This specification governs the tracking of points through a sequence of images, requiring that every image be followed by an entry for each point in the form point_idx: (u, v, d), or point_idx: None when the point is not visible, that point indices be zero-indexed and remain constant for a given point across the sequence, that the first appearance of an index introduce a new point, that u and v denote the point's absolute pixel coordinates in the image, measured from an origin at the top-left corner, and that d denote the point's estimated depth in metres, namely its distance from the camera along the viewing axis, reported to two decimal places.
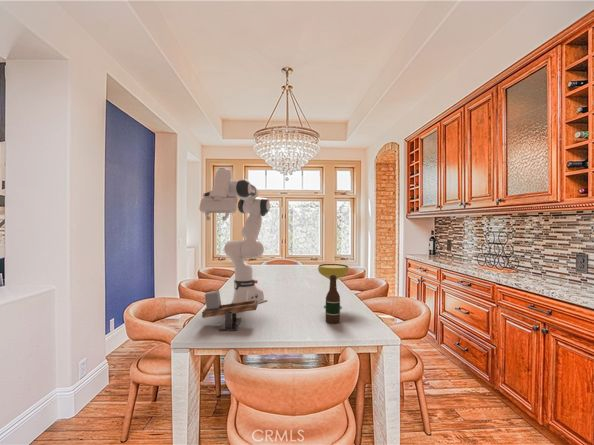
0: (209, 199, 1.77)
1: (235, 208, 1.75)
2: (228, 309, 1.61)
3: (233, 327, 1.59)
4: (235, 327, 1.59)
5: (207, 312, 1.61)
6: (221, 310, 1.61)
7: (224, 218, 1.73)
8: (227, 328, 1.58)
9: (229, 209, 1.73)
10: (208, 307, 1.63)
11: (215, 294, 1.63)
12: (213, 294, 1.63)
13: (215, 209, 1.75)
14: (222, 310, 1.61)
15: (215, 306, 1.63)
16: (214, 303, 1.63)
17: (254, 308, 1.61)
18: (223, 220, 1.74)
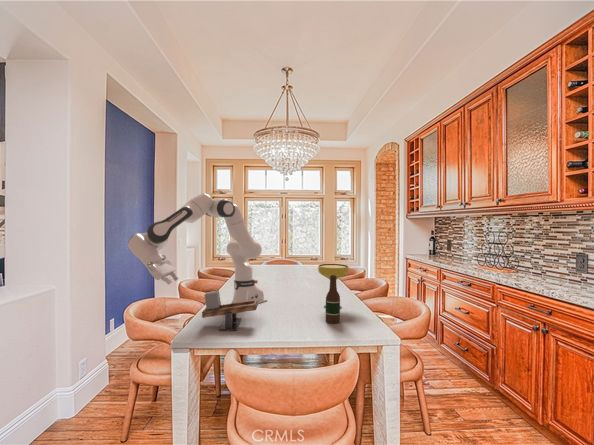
0: None
1: (156, 274, 1.55)
2: (228, 309, 1.61)
3: (233, 327, 1.59)
4: (235, 327, 1.59)
5: (207, 312, 1.61)
6: (221, 310, 1.61)
7: (167, 283, 1.60)
8: (227, 328, 1.58)
9: None
10: (208, 307, 1.63)
11: (215, 294, 1.63)
12: (213, 294, 1.63)
13: None
14: (222, 310, 1.61)
15: (215, 306, 1.63)
16: (214, 303, 1.63)
17: (254, 308, 1.61)
18: (171, 282, 1.61)
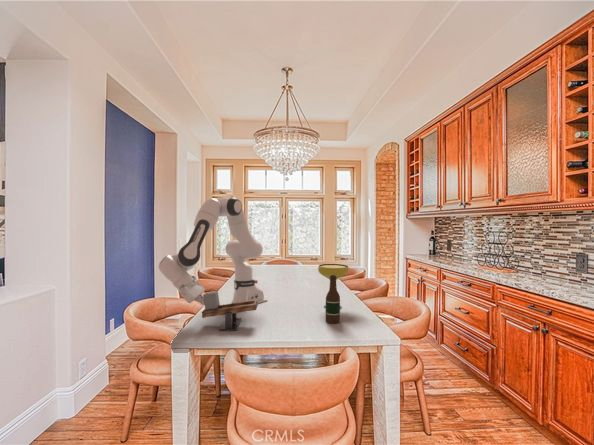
0: None
1: (189, 298, 1.56)
2: (228, 309, 1.61)
3: (233, 327, 1.59)
4: (235, 327, 1.59)
5: (207, 312, 1.61)
6: (221, 310, 1.61)
7: None
8: (227, 328, 1.58)
9: None
10: (207, 307, 1.63)
11: (214, 294, 1.63)
12: (212, 294, 1.63)
13: None
14: (222, 310, 1.61)
15: (213, 307, 1.63)
16: (212, 303, 1.63)
17: (254, 308, 1.61)
18: None
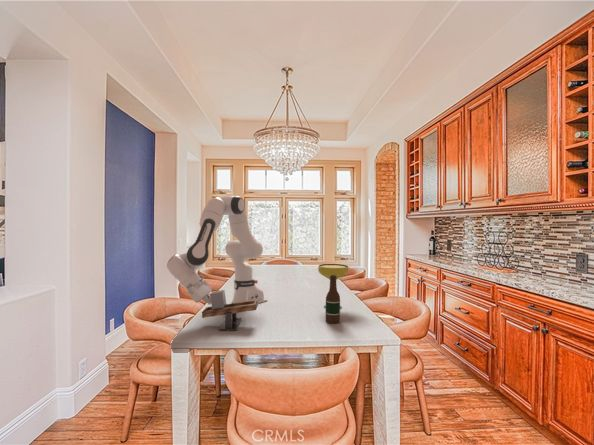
0: None
1: (196, 297, 1.55)
2: (228, 309, 1.61)
3: (233, 327, 1.59)
4: (235, 327, 1.59)
5: (207, 312, 1.61)
6: (221, 310, 1.61)
7: None
8: (227, 328, 1.58)
9: None
10: (213, 306, 1.63)
11: (220, 293, 1.63)
12: (218, 293, 1.63)
13: None
14: (222, 310, 1.61)
15: (220, 306, 1.63)
16: (219, 302, 1.63)
17: (254, 308, 1.61)
18: None
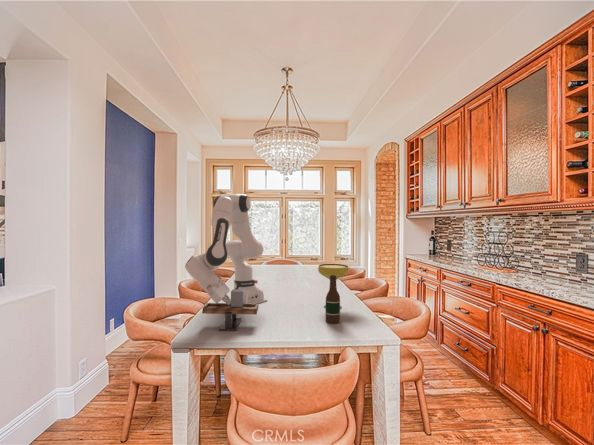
0: None
1: (216, 298, 1.56)
2: (229, 309, 1.61)
3: (233, 327, 1.59)
4: (235, 327, 1.59)
5: (208, 308, 1.61)
6: (222, 309, 1.61)
7: None
8: (227, 328, 1.58)
9: None
10: (232, 304, 1.63)
11: (241, 292, 1.63)
12: (239, 292, 1.63)
13: None
14: (223, 309, 1.61)
15: (239, 305, 1.63)
16: (238, 301, 1.63)
17: (255, 312, 1.61)
18: (230, 303, 1.65)
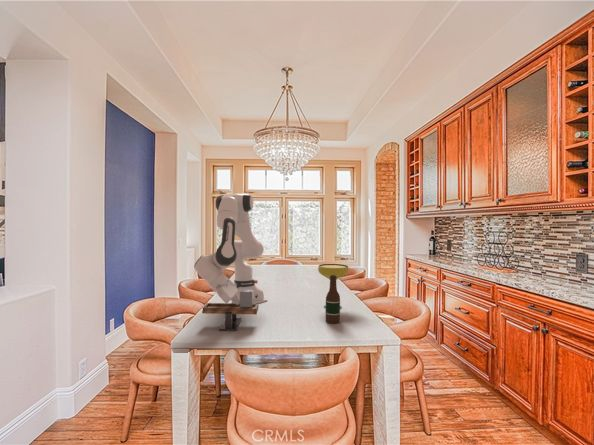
0: None
1: (226, 298, 1.55)
2: (229, 309, 1.61)
3: (233, 327, 1.59)
4: (235, 327, 1.59)
5: (208, 308, 1.61)
6: (222, 309, 1.61)
7: None
8: (227, 328, 1.58)
9: None
10: (241, 304, 1.63)
11: (250, 293, 1.63)
12: (248, 292, 1.63)
13: None
14: (223, 309, 1.61)
15: (248, 305, 1.63)
16: (248, 301, 1.63)
17: (255, 312, 1.61)
18: (239, 303, 1.65)
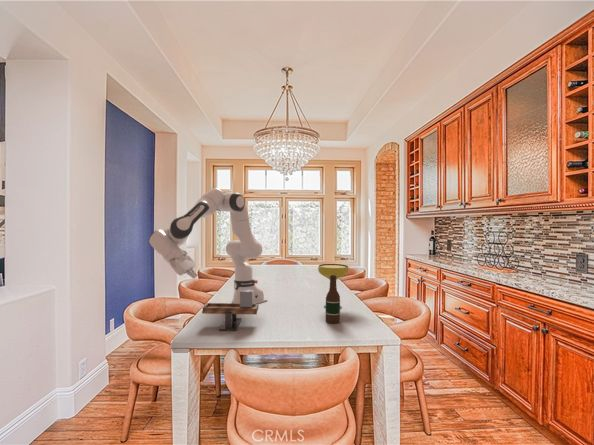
0: None
1: (179, 270, 1.55)
2: (229, 309, 1.61)
3: (233, 327, 1.59)
4: (235, 327, 1.59)
5: (208, 308, 1.61)
6: (222, 309, 1.61)
7: (192, 277, 1.64)
8: (227, 328, 1.58)
9: None
10: (241, 304, 1.63)
11: (250, 293, 1.63)
12: (248, 292, 1.63)
13: None
14: (223, 309, 1.61)
15: (248, 305, 1.63)
16: (248, 301, 1.63)
17: (255, 312, 1.61)
18: (195, 276, 1.65)
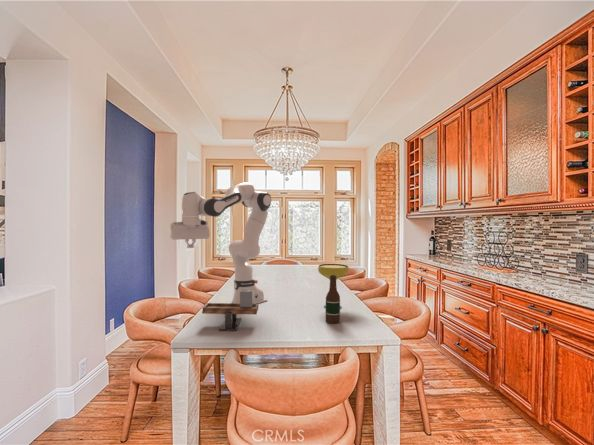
0: None
1: (171, 235, 1.73)
2: (229, 309, 1.61)
3: (233, 327, 1.59)
4: (235, 327, 1.59)
5: (208, 308, 1.61)
6: (222, 309, 1.61)
7: None
8: (227, 328, 1.58)
9: None
10: (241, 304, 1.63)
11: (250, 293, 1.63)
12: (248, 292, 1.63)
13: None
14: (223, 309, 1.61)
15: (248, 305, 1.63)
16: (248, 301, 1.63)
17: (255, 312, 1.61)
18: (190, 247, 1.79)
